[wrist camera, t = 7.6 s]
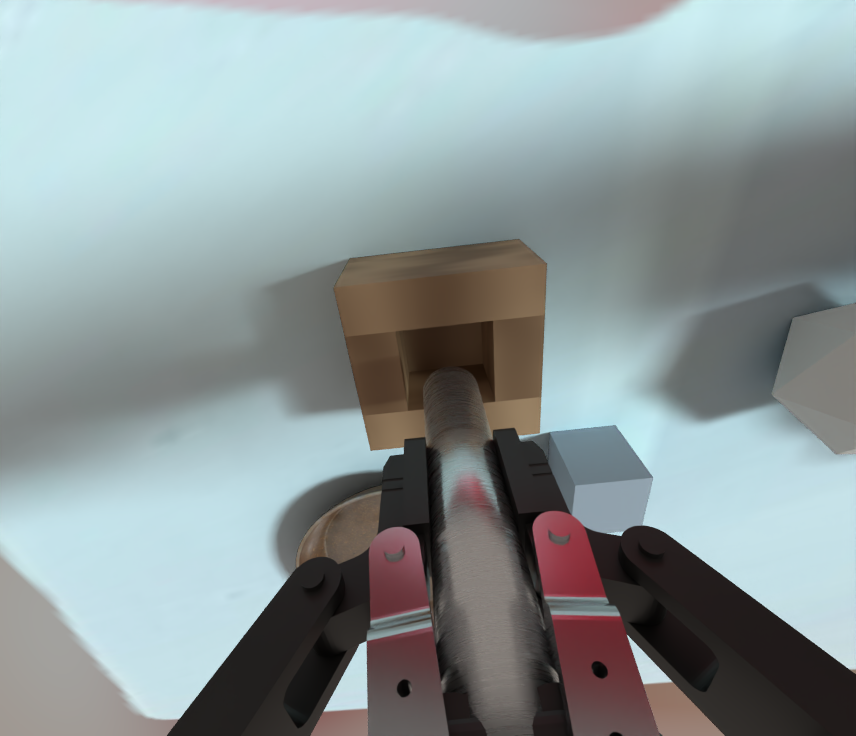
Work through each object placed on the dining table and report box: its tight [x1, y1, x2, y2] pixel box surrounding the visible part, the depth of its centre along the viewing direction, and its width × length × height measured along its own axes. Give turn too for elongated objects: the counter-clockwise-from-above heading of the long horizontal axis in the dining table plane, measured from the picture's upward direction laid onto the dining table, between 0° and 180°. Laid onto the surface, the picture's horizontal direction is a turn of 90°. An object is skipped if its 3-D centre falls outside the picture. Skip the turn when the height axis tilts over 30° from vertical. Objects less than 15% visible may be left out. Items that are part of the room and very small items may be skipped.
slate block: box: [548, 425, 653, 533], centre depth 26 cm, size 4×4×5 cm
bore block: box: [334, 239, 547, 451], centre depth 21 cm, size 9×9×5 cm
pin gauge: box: [423, 367, 559, 736], centre depth 12 cm, size 2×2×12 cm
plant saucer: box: [296, 485, 434, 625], centre depth 31 cm, size 18×18×3 cm
